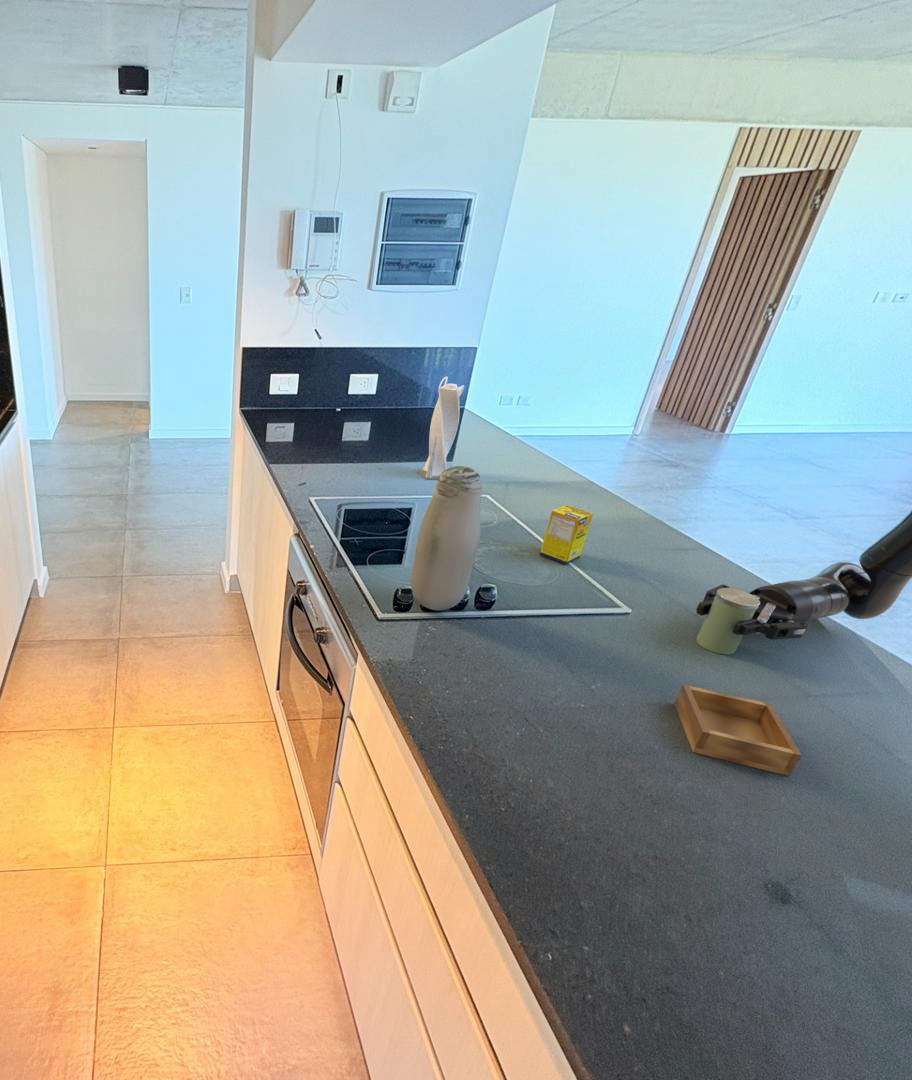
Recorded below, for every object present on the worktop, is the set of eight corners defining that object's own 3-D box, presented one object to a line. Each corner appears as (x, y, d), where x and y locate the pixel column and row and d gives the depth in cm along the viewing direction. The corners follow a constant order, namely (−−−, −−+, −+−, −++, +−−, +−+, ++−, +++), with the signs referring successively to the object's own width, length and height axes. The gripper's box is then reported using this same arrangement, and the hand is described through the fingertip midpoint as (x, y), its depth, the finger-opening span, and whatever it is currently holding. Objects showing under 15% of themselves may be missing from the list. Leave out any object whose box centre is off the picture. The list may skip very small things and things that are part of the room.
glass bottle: (415, 586, 125) (440, 454, 112) (468, 602, 119) (501, 465, 107) (399, 607, 117) (424, 470, 105) (454, 625, 112) (488, 482, 100)
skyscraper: (414, 469, 186) (431, 376, 173) (440, 468, 186) (458, 375, 174) (427, 479, 178) (445, 382, 166) (453, 478, 179) (473, 381, 166)
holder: (760, 723, 90) (771, 703, 88) (789, 776, 81) (802, 755, 79) (673, 703, 94) (682, 684, 92) (692, 752, 85) (702, 731, 83)
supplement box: (579, 558, 135) (594, 513, 130) (565, 565, 132) (580, 519, 127) (552, 548, 140) (566, 503, 135) (538, 555, 137) (551, 510, 132)
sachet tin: (729, 640, 108) (753, 592, 104) (740, 658, 104) (765, 608, 99) (691, 632, 110) (713, 585, 106) (700, 650, 106) (723, 601, 101)
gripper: (826, 644, 103) (753, 662, 99) (737, 600, 116) (669, 614, 111) (848, 607, 100) (773, 623, 96) (753, 565, 112) (684, 579, 108)
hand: (717, 618), depth 104 cm, fingers closed on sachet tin, 5 cm apart
